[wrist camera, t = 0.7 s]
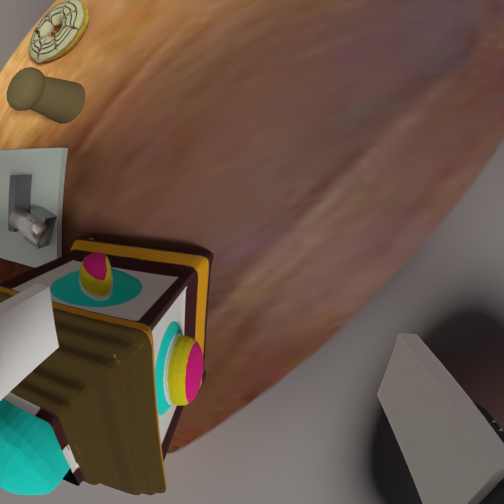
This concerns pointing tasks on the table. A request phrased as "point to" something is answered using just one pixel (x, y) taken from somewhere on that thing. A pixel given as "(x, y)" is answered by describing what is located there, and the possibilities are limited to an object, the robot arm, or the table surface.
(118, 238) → the table surface
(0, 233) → the rig
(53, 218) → the shaft
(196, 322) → the decorative lantern
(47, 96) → the cork
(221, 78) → the table surface
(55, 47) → the decorated donut
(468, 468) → the robot arm
